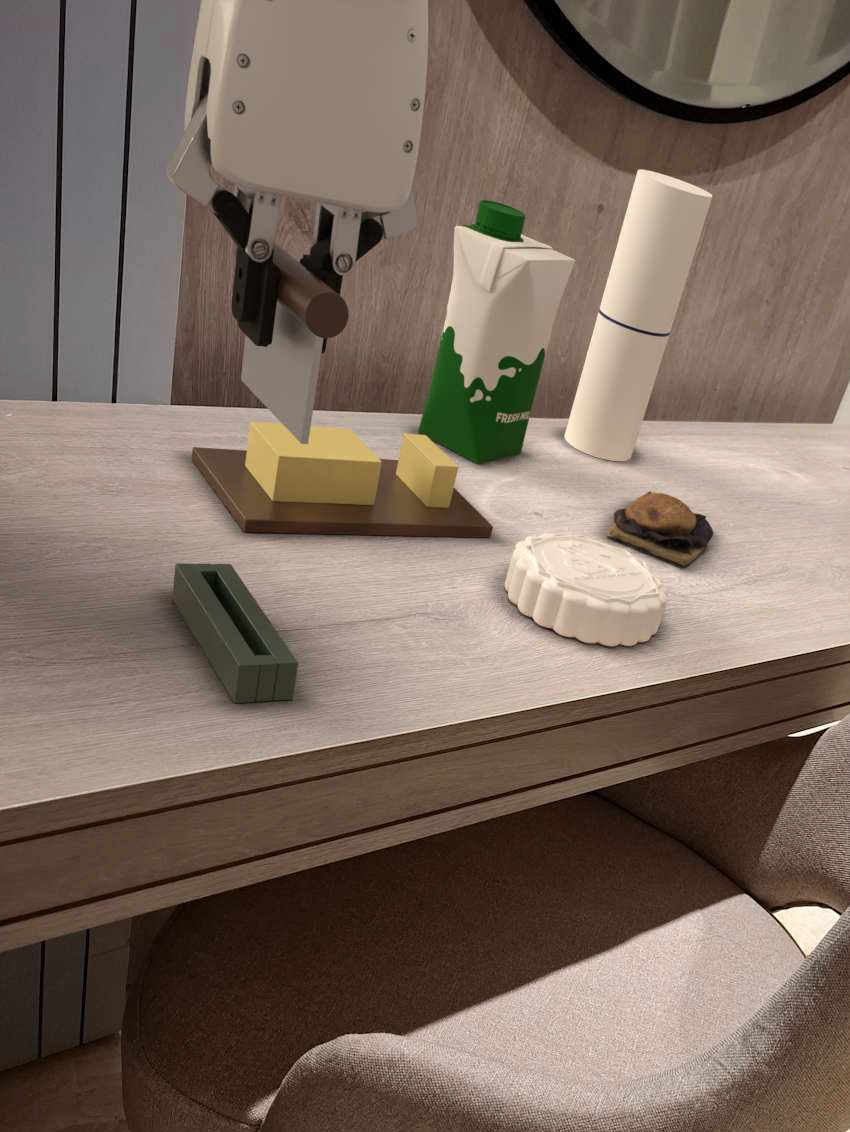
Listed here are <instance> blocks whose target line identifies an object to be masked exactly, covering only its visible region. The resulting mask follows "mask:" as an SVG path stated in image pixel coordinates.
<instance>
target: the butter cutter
mask: <svg viewBox="0 0 850 1132" xmlns="http://www.w3.org/2000/svg"><path fill="white" fill-rule="evenodd" d="M273 249H274V254H273V263H274V264H276V265H277V266H278V267H279V268H280V282H279V287H278V298H277V306H276V314H275V322H274V330H273V338H272V343H271V344H270V345H269V344H268V346H267V347H262V346H256V345H255V344H254V343H253V342H252V341H251V340H250V339H249V338H248V337H247V336H246V335H245V337H244V338H245V339H244V346H243V355H242V365H241V366H242V367H241V375H240V381H241V383H243V384H244V385H245V386H246V387H247V389H249V391H250V392H252V393H253V394H254V395H255V397H257V399H258V400H259V401H260V402H261V403H262V404H263V405H264V406H265V407H266V408H267V410H269V411H270V412H271V414H272V415H273V416H274V417H275V418H276V419H277V420H278V421H279V423H280V424H283V425H284V426H285V427H286V428H287V429H288V430H289V431H290V432H291V433H292V434H293V435H294V437H295V438H296V439H297V440H298V441H299V442H300V443H301V444H308V441H309V434H310V428H311V426H312V420H313V414H314V407H315V406H314V404H315V400H316V391H317V386H318V378H319V372H320V365H321V357H322V353H321V352H322V345H323V338H327V339H332V338H335V337H337V336H338V335H340V334H341V333H342V332H343V331H344V330H345V328H346V326H347V325H348V321H349V316H350V314H349V306H348V304H347V302H346V300H345V299H344V298H343V296H341V294H340V295H339V294H338V293H336V292H335V291H334V290H333V289H332V288H330V287H329V286H328V285H327V284H325V283H324V282H323V281H322V280H320V279H319V278H318V277H317V276H315V275H314V274H313V273H312V272H311V271H309V270H308V269H307V268H306V267H304V266H303V265H302V264H301V263H299V262H300V261H298V260H297V259H296V258H295V257H294V256H292V255H291V254H289V252H287V251H286V250H285V249H284V248H282V247H281V246H280V245H278V244H277V243H276V242H275V241H274V243H273ZM236 256H237V245H236V244H235V246H234V260H235V261H236Z"/></svg>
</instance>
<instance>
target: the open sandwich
mask: <svg viewBox="0 0 850 1132" xmlns="http://www.w3.org/2000/svg"><path fill="white" fill-rule="evenodd" d="M606 536H607V538H608V537H609V538H610V537H611V538H614V539H619V540H620V541H622V542H624V543H627V544H631V545H633V546H636V547H639V548H642V549H643V550H646V551H648V553H651V554H653V555H654V556H658V557H661V558H663V559H667V560H669V561H671V562H674V563H676V564H679V565H681V566H682V567H685V566H687V565H689V564H691V563H692V562H693V561H695V559H698V557H699V556H700V555H701V554H702V552H703V551H704V549H705V548H706V547H707V546H708V543H710V541H711V539H712V538H713V536H714V529H713V528H712V527H711V524H710V523H709V521H708V520H707V516H706V515H704V514H701V513H695V512H693V510H692V509H690V507H689V505H687V504H686V503H684V502H683V501H682V500H681V499H679V498H677V497H675V496H672V495H669V494H667V493H663V492H652V491H648V492H646V493H645V494H642V495H641V496H639V497H637V498H636V499H635V500H633V501H632V502H631V503H630V504H629V505H628V507H627V508H621V509H617V510H616V511H614V513H613V523H612V524H611V527H610V528H609V530H608V532H607V533H606Z"/></svg>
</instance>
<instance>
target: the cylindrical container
mask: <svg viewBox="0 0 850 1132" xmlns="http://www.w3.org/2000/svg"><path fill="white" fill-rule="evenodd" d="M712 199H713V194H711V192H708V191H707V190H705V189H703V188H701V187H699V186H696V185H694V184H692V183H689V182H687V181H684V180H682V179H678V178H675V177H673V176H670V175H666V174H663V173H659V172H655V171H653V170H648V169H637V172H636V175H635V180H634V183H633V185H632V189H631V193H630V197H629V200H628V203H627V208H626V212H625V216H624V219H623V222H622V225H621V230H620V233H619V237H618V241H617V244H616V248H615V251H614V255H613V259H612V262H611V266H610V270H609V274H608V277H607V281H606V284H605V287H604V291H603V295H602V298H601V302H600V306H599V310H598V312H597V316H596V320H595V324H594V328H593V332H592V334H591V339H590V342H589V345H588V349H587V352H586V357H585V360H584V362H583V363H584V364H583V367H582V371H581V375H580V378H579V382H578V385H577V389H576V393H575V396H574V400H573V403H572V407H571V409H570V410H571V411H570V414H569V417H568V422H567V425H566V429H565V433H564V437H563V438H564V440H565V441H566V442H567V444H569V445H570V446H571V447H572V448H575V449H576V450H577V451H580V452H582V453H584V454H586V455H588V456H591V457H595V458H598V459H602V460H606V461H612V462H626V461H629V460H631V459H632V456H633V453H634V450H635V447H636V443H637V440H638V437H639V434H640V431H641V427H642V424H643V421H644V417H645V414H646V411H647V409H648V405H649V402H650V398H651V396H652V392H653V389H654V386H655V382H656V380H657V376H658V373H659V369H660V365H661V363H662V359H663V356H664V354H665V350H666V347H667V343H668V341H669V338H670V334H671V330H672V328H673V324H674V321H675V318H676V315H677V312H678V309H679V305H680V302H681V298H682V296H683V292H684V289H685V287H686V283H687V280H688V276H689V273H690V270H691V266H692V264H693V260H694V257H695V254H696V250H697V249H698V244H699V241H700V237H701V235H702V231H703V228H704V225H705V222H706V219H707V215H708V212H709V209H710V205H711V204H712V203H711V202H712Z"/></svg>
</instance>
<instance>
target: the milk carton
mask: <svg viewBox="0 0 850 1132" xmlns="http://www.w3.org/2000/svg"><path fill="white" fill-rule="evenodd" d="M525 221H526V214H525V213H524V212H523V211H521V210H519V209H517V208H514V207H512V206H510V205H507V204H504V203H501V202H497V201H492V200H487V199H481V200H480V201H479V202H478V207H477V212H476V216H475V221H474V223H471V224H470V225H469V224H462V225H455V227H454V228H453V231H454V233H453V235H454V236H453V269H452V270H453V273H452V281H451V286H450V291H449V297H448V301H447V305H446V311H445V316H444V320H443V325H442V330H441V335H440V340H439V344H438V349H437V354H436V360H435V364H434V368H433V374H432V377H431V382H430V385H429V390H428V394H427V397H426V400H425V405H424V408H423V411H422V414H421V419H420V423H419V427H418V430H417V433H418V434H419V435H426V436H427V437H428V438H429V439H430V440H431V441H433V442H434V443H435V442H436V443H437V444H439V445H441V446H443V447H445V448H447V449H449V450H451V451H452V452H455V453H456V454H458V455H460V456H462V457H464V458H466V459H468V460H469V461H471V462H474V463H475V464H477V465H479V464H483V463H488V462H492V461H496V460H501V459H506V458H509V457H514V456H517V455H521V454H522V451H523V447H524V442H525V437H526V434H527V429H528V426H529V421H530V417H531V413H532V409H533V405H534V401H535V396H536V393H537V389H538V384H539V381H540V377H541V375H542V374H541V373H542V370H543V365H544V362H545V358H546V354H547V351H548V346H549V343H550V338H551V334H552V331H553V328H554V323H555V318H556V315H557V313H558V309H559V306H560V303H561V300H562V298H563V294H564V293H565V289H566V287H567V284H568V281H569V279H570V276H571V274H572V271H573V268H574V266H575V263H576V259H574V258H572V257H570V256H568V255H565V254H563V253H561V252H559V251H557V250H555V249H554V247H552V246H551V245H549V244H546V243H545V242H544V243H543V242H540V241H538V240H535V239H533V238H530V237H528V236H526V235H524V234H523V229H524V226H525Z"/></svg>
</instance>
